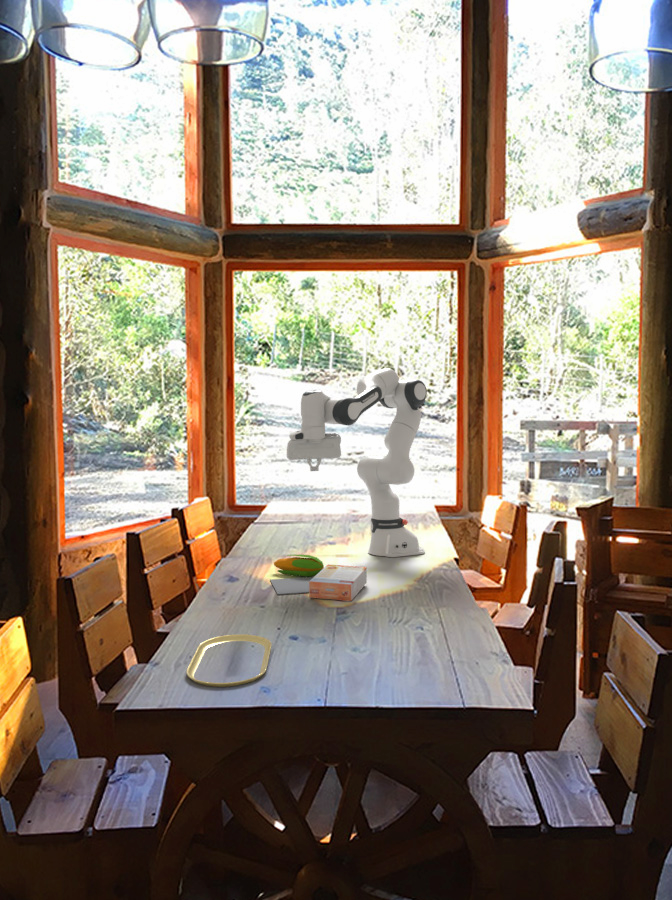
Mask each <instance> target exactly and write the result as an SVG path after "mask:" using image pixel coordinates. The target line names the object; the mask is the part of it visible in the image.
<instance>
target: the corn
mask: <svg viewBox="0 0 672 900" xmlns="http://www.w3.org/2000/svg"><path fill="white" fill-rule="evenodd" d="M287 556H290V557H286V558H278V559H277V560H275V561H274V562H273V565H274V567H276V568H277V569H278V570H277V572H278V573H280V574H283V575H285V576H291V575H293V576H292V577H299V576H301V577H300V578H303V577H315V576H316V575H317V574H318V573H319V572H320V571H321V570H322V569H323V568H325V567H324V563H323V561H322V560H321V559H320V558H318V557H316V556H313V555H309V554H287ZM291 556H294V557H291Z"/></svg>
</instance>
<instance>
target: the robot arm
mask: <svg viewBox="0 0 672 900" xmlns="http://www.w3.org/2000/svg"><path fill="white" fill-rule="evenodd" d="M356 393H357V395H356V396H355V397H345V398H337V397H336V398H333V397H330V396H328V395H326V394H325V393H324V392H323V391H322V390H321V389H313V390H307V391H305V392H303V393H302V395H301V401H300V416H301V427H300V429H299V430H297V431H294V432H291V433H289V439H290V440H289V441H288V442H287V446H286V458H287V459H288V460H289V461H299V460H300V461H301V460H306V463H307V464H308V466H309V471H310V472H319V471H320V469H319V466H320V465H321V463H322V459H339V458H341V456H342V448H341V442H342V437H341V435H340V434H339V433H336V432H332V433H330V432H329V433H326V424H331V425H342V426H352V425H354V424H355V423H356V422H357V421H358V419H360V417H361V416H362V415H363V413H365V412H366V411H368V410H369V409H370V408H372V407H373V406H375V405H376V404H378V403H379V402H380V404H381V406H382V407H384V408H387V409H396V412H395V413H396V414H395V416H394V418H393V419H392V422H391V424H390V426H389V428H388V430H387V432H386V435H385V437H384V440H383V441H384V445H385V447H386V449H387V450H388V454H386V455H369V456H367V455H366V456H364V457H362V458H361V459H359V461H358V463H357V466H356V470H357V475H358V477H359V478H360V479H361V480H362V482H364V484H365V486H366V488H367V490H368V492H369V495H370V502H371V504H370V505H371V518H370V532H371V535H370V536H371V537H370V543H369V548H368V554H370V555H373V556H377V557H379V556H380V557H386V558H398V557H406V556H407V557H408V556H417V555H423V554H425V549H424V548H423V547H421V546H420V545H419V544H420V543H419V540H418V537H417V536H416V534H414V533H413V532H411V531H410V530H409V529H408V528H406V527H405V526H406V525H408V524H409V522H408V520H407V519H404V518H401V517H400V499H399V497H398V495H396V494H395V493H394V491H393V490H392V489H391V486H390V485H393V486H394V485H397V486H399V485H405V484H406V485H407V484H408V483H410V482H411V481H412V480H413V478H414V476H415V467H414V463H413V462H412V461H411V460H410V459H411V458H410V451H411V448H412V446H413V443H414V440H415V439H416V435H417V434H418V431H419V428H420V424H421V419H422V413H421V411H420V410H421V409H422V408H423V406H424V402H425V401H426V398H427V394H428V393H427V388H426V384H425V383H424V382H423V381H422V380H420V379H415V378H412V379H403V380H400V378H399V376H398V373H397V372H396V371H395V370H394V369H392V368H389V367H387V368H386V367H385V368H381V369H378V370H375V371H373V372H371V373H369V374H367V375H365V376H363V377H361V379H360V380H359V381H358V382H357V384H356ZM312 460H316V462H317V463H316V465H312Z"/></svg>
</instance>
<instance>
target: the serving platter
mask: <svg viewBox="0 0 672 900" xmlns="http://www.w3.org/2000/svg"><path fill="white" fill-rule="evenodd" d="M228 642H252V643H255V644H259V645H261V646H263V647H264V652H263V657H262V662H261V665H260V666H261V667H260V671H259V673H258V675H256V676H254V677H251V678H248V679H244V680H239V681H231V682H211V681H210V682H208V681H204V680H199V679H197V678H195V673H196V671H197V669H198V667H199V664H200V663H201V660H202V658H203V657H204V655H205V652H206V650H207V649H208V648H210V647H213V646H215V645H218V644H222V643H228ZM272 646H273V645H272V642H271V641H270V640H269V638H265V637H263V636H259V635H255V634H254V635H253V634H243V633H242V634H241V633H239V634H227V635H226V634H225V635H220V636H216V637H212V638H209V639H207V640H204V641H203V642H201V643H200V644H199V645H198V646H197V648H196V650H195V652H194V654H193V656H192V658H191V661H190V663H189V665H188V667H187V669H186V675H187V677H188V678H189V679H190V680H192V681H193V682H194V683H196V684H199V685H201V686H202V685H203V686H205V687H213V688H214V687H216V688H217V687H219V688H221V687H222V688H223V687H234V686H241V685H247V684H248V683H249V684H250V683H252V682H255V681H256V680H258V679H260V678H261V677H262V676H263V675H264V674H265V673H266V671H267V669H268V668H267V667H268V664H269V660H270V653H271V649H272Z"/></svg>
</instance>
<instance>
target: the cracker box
mask: <svg viewBox="0 0 672 900" xmlns="http://www.w3.org/2000/svg"><path fill="white" fill-rule="evenodd" d="M367 569H368V568H367V566H354V565H341V564H327V565H326V566H325V567H324V568H323V569H322V570H321V571H320V572H319V573H318V574H317V575H316V576H313V578H312V579H311V580H310V581H309V592H310V593H309V599H310V598H311V599H319V600H321V599H323V600H333V601H334V600H335V601H344V602H352V601H353V600H354V598H355V597H356V596H357V595H358V594H359V592H360V591H361V590H362V589H363V588H364V587H365V586H366V585H367V581H368V579H367V577H368V575H367V572H368V570H367Z"/></svg>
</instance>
